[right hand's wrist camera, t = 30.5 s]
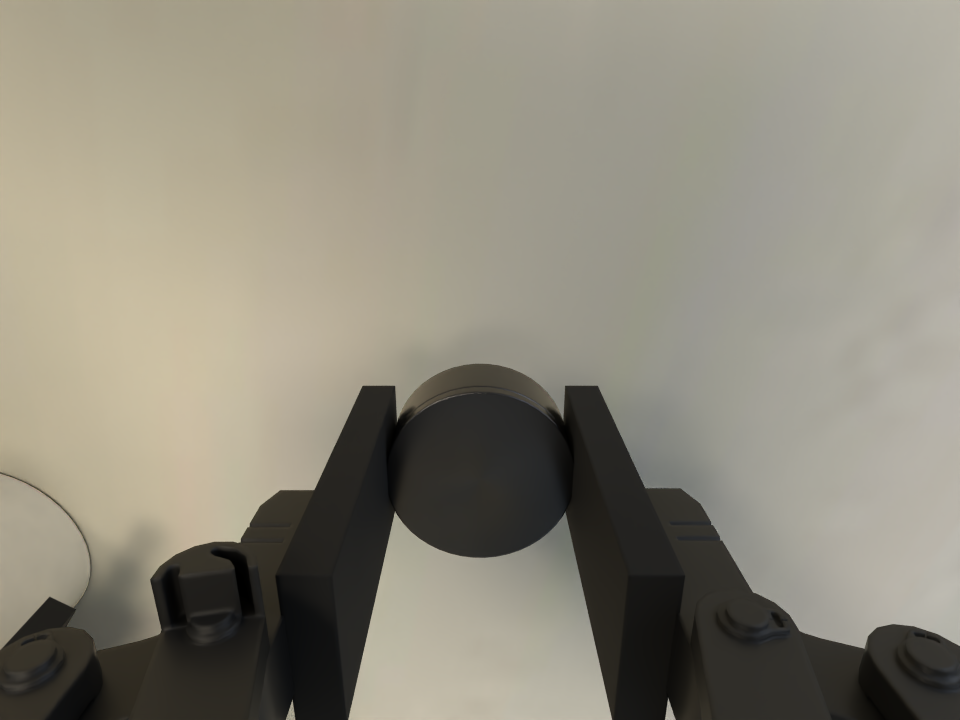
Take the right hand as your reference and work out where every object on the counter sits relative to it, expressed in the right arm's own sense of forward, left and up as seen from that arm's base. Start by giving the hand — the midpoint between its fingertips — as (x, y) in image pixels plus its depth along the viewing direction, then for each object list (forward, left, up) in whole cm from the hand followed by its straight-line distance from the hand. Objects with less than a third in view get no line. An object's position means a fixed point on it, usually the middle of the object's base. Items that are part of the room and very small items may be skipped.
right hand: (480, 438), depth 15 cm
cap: (0, 0, +1) cm, 1 cm away
